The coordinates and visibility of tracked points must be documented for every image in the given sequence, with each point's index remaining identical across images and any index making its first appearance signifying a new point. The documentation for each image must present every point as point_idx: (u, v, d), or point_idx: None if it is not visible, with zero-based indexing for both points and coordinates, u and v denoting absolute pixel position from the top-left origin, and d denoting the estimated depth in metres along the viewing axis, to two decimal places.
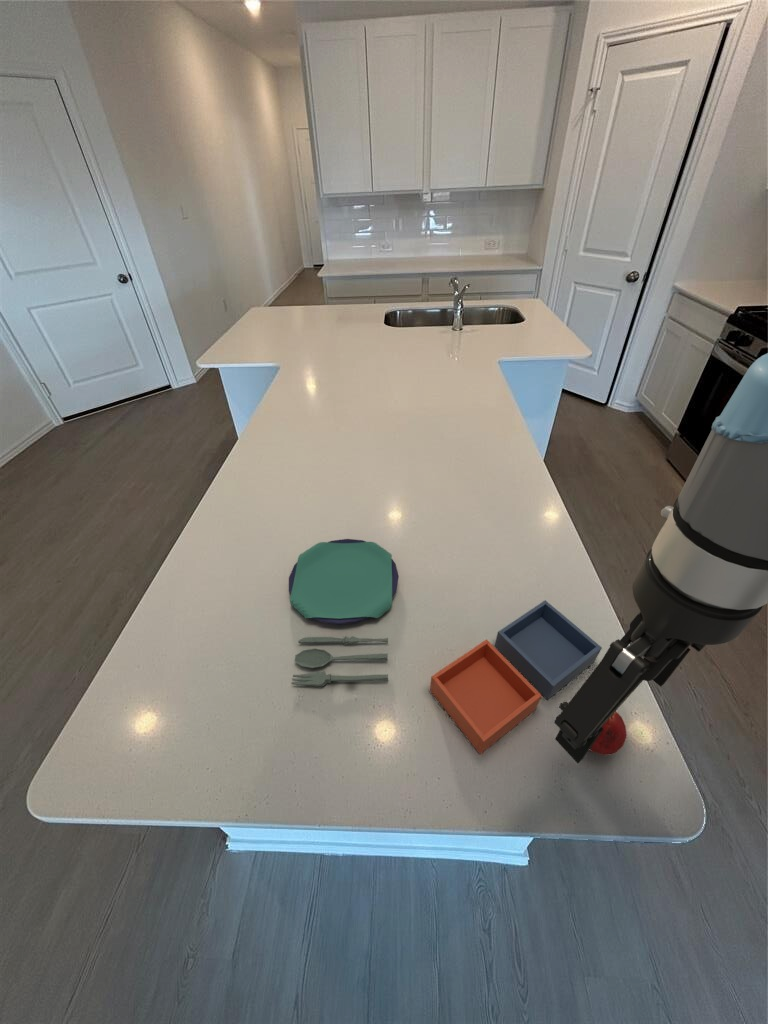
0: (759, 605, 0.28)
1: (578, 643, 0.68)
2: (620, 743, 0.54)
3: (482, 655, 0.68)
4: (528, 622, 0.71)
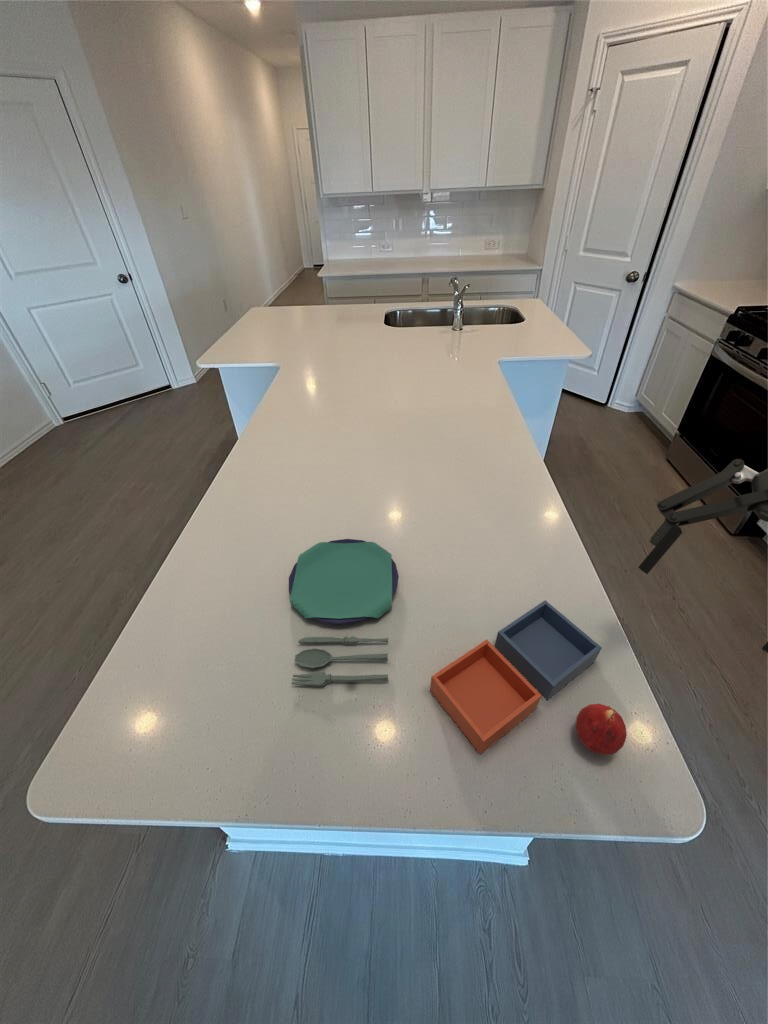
0: None
1: (578, 643, 0.68)
2: (620, 743, 0.54)
3: (482, 655, 0.68)
4: (528, 622, 0.71)
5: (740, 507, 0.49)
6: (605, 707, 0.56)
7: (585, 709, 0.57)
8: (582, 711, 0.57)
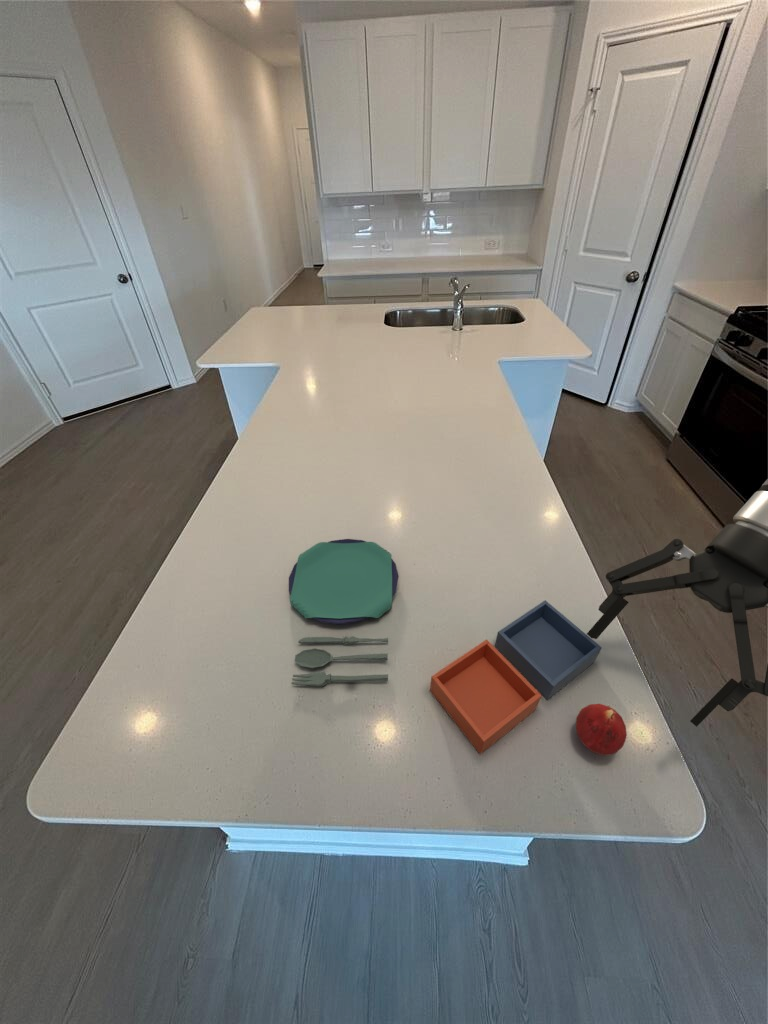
0: (759, 520, 0.48)
1: (578, 643, 0.68)
2: (620, 743, 0.54)
3: (482, 655, 0.68)
4: (528, 622, 0.71)
5: (677, 585, 0.53)
6: (605, 707, 0.56)
7: (585, 709, 0.57)
8: (582, 711, 0.57)
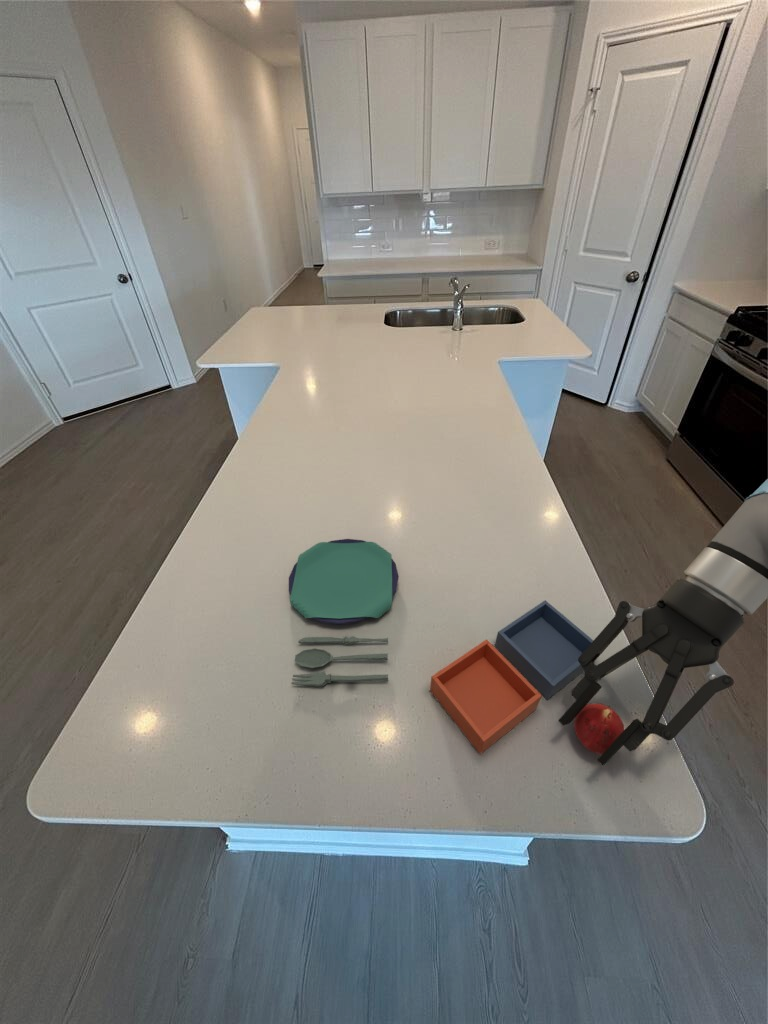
0: (705, 578, 0.49)
1: (578, 643, 0.68)
2: None
3: (482, 655, 0.68)
4: (528, 622, 0.71)
5: (639, 651, 0.53)
6: (602, 706, 0.56)
7: (583, 709, 0.57)
8: (580, 711, 0.57)
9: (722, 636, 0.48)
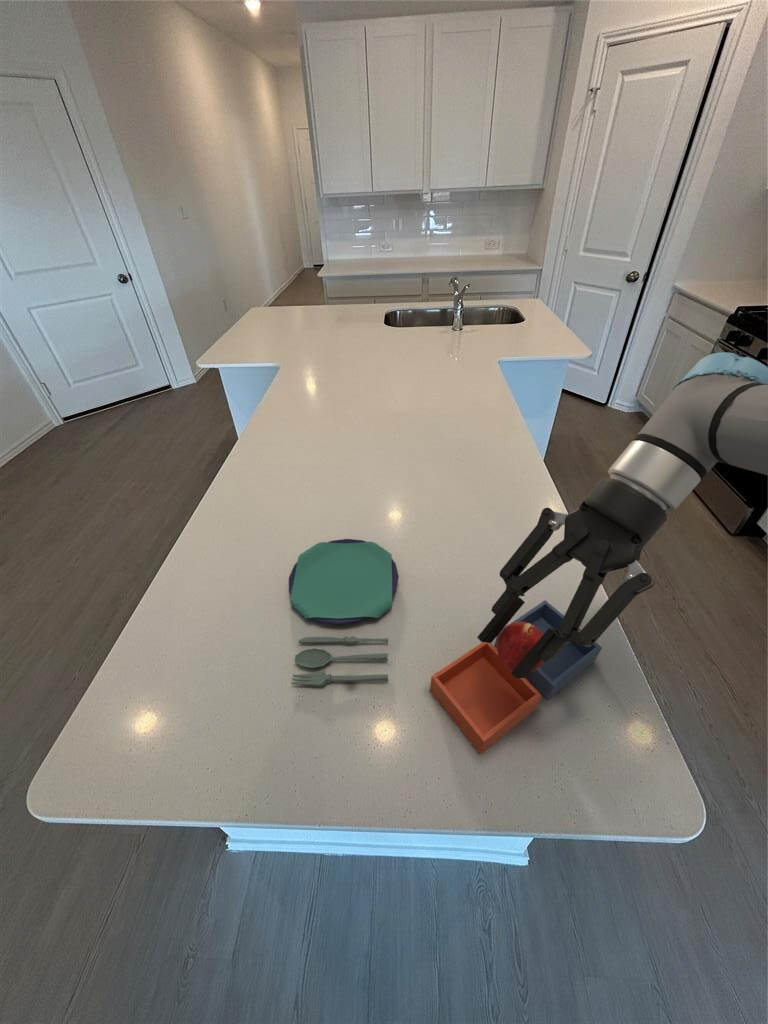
0: (625, 470, 0.44)
1: None
2: None
3: (482, 655, 0.68)
4: (528, 622, 0.71)
5: (560, 558, 0.49)
6: (525, 623, 0.52)
7: (505, 627, 0.53)
8: (503, 629, 0.53)
9: (641, 531, 0.44)
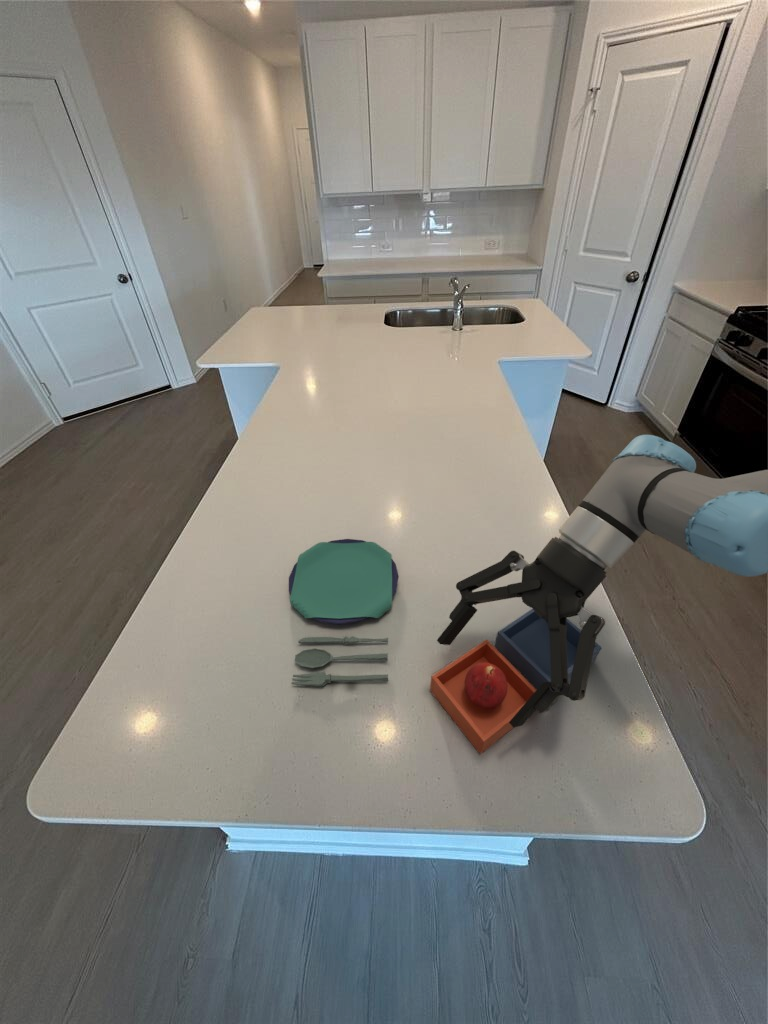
0: (570, 534, 0.52)
1: None
2: (498, 696, 0.58)
3: (482, 655, 0.68)
4: (528, 622, 0.71)
5: (510, 594, 0.57)
6: (489, 665, 0.60)
7: (472, 667, 0.61)
8: (470, 669, 0.61)
9: (583, 587, 0.51)
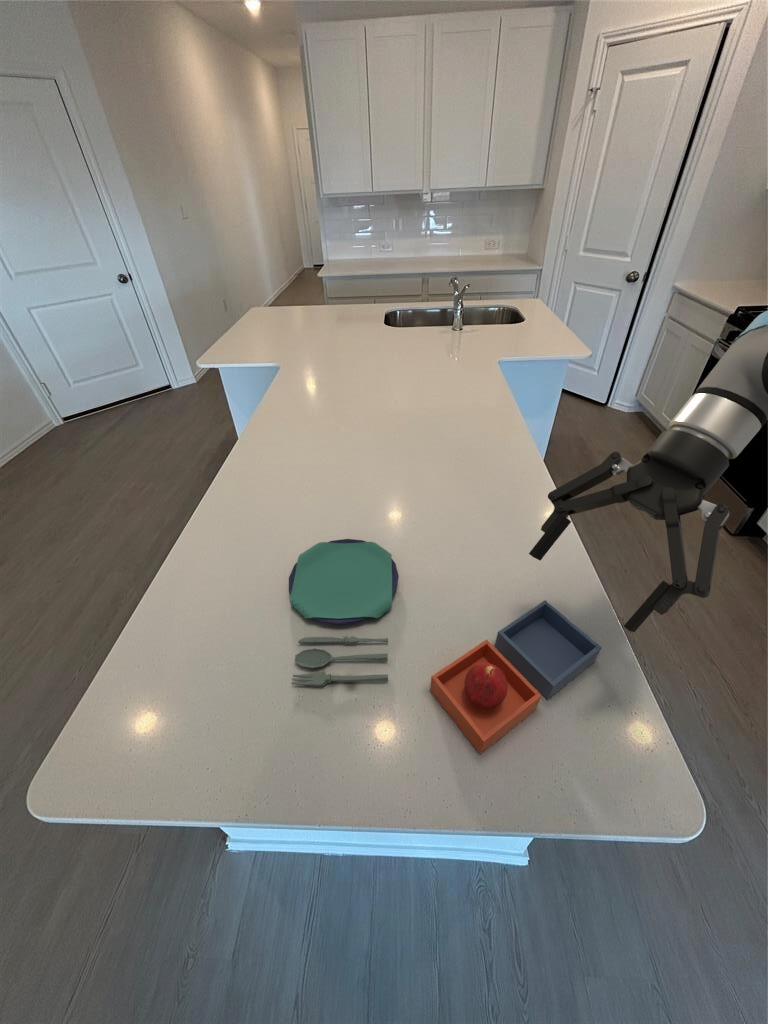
0: (689, 420, 0.48)
1: (578, 643, 0.68)
2: (498, 696, 0.58)
3: (482, 655, 0.68)
4: (528, 622, 0.71)
5: (614, 496, 0.53)
6: (489, 665, 0.60)
7: (472, 667, 0.61)
8: (470, 669, 0.61)
9: (706, 477, 0.47)
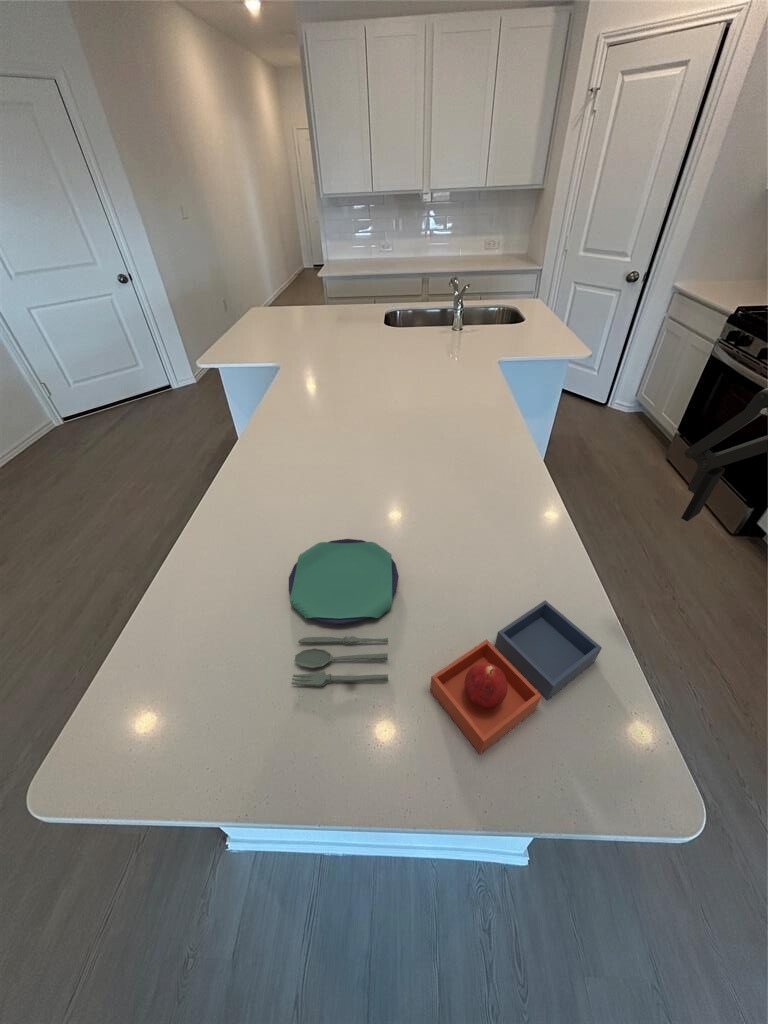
0: None
1: (578, 643, 0.68)
2: (498, 696, 0.58)
3: (482, 655, 0.68)
4: (528, 622, 0.71)
5: None
6: (489, 665, 0.60)
7: (472, 667, 0.61)
8: (470, 669, 0.61)
9: None
